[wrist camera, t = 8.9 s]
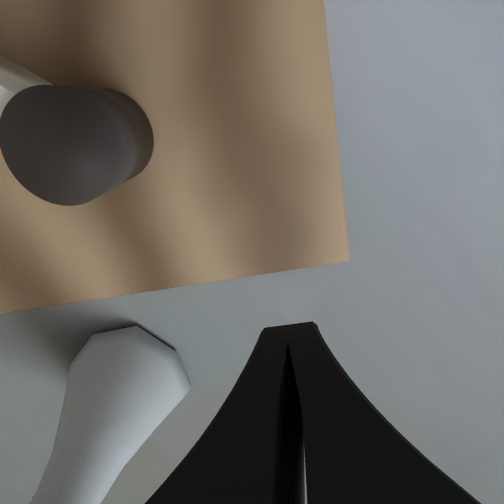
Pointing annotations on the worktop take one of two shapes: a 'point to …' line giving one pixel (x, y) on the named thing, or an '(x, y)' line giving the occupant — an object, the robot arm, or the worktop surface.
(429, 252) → the worktop surface
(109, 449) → the flask
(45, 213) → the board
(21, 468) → the worktop surface
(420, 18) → the worktop surface
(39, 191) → the peg
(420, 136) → the worktop surface
